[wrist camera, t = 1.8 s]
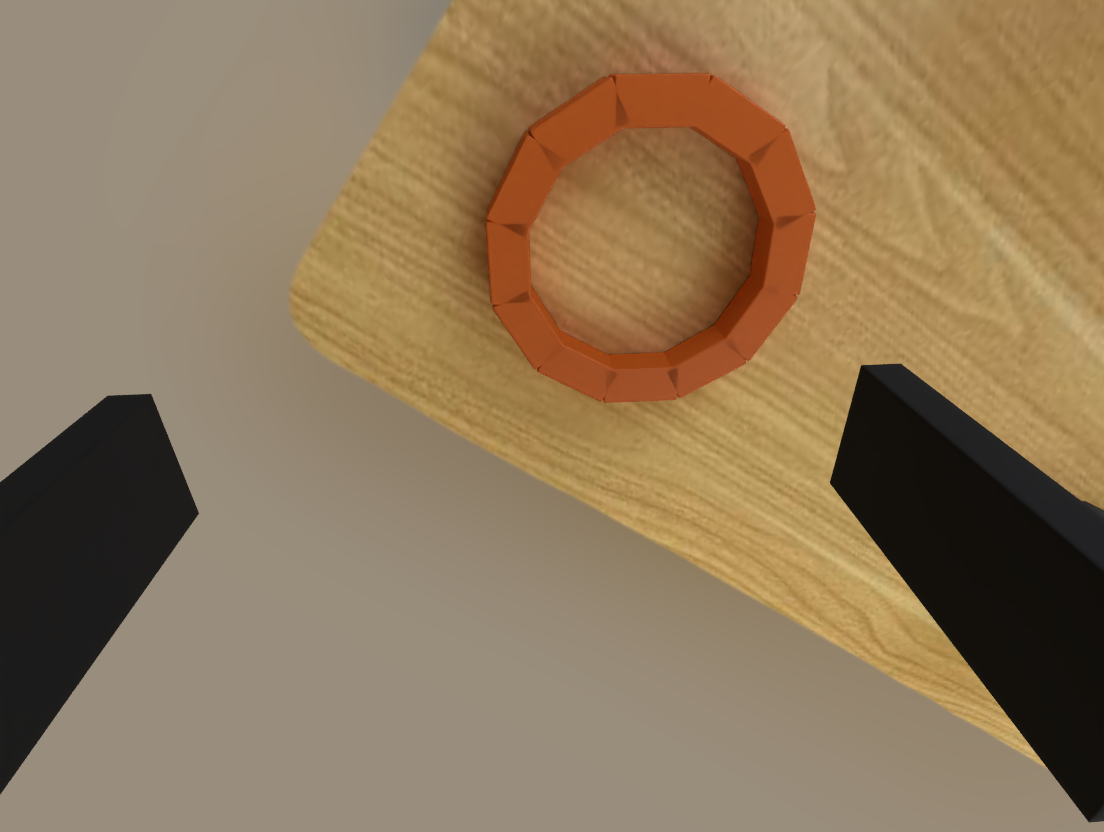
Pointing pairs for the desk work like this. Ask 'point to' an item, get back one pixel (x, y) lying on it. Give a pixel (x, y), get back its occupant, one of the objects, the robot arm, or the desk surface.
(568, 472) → the desk surface
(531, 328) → the ring
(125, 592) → the robot arm
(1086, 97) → the desk surface
